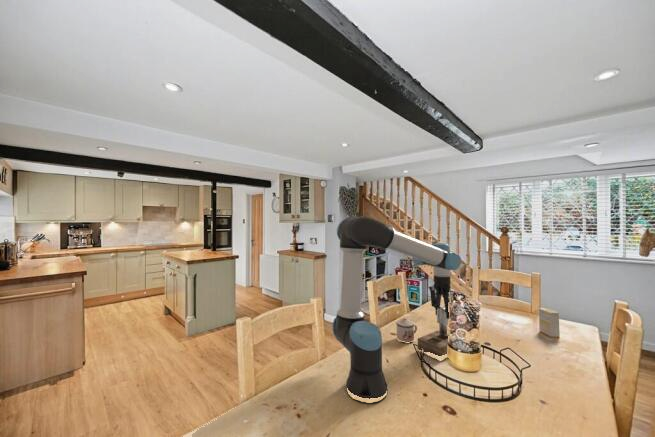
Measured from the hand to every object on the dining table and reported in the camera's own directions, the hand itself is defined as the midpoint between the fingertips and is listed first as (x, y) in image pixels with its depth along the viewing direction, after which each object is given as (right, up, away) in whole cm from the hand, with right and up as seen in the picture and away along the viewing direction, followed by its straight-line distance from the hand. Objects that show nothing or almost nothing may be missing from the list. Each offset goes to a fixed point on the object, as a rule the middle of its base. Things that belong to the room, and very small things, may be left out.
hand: (443, 323), depth 128 cm
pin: (0, -5, 0) cm, 5 cm away
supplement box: (+64, -12, +15) cm, 67 cm away
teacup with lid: (-14, -13, +11) cm, 22 cm away
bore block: (-3, -12, -2) cm, 13 cm away
